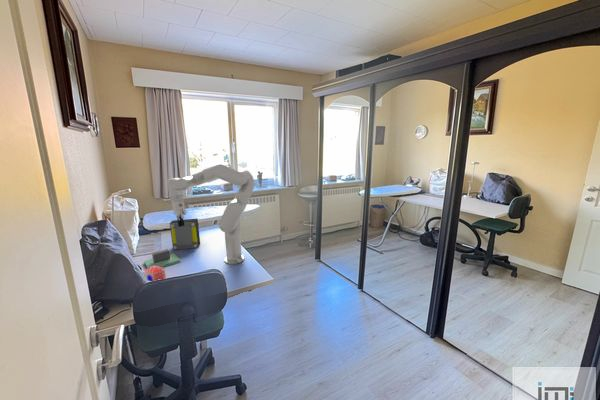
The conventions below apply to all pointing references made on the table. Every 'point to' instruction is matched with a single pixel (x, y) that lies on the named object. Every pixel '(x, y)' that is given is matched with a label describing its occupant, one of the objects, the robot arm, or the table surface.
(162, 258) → the block
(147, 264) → the header board
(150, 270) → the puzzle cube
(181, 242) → the electrical component
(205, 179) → the robot arm
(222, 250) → the table surface
